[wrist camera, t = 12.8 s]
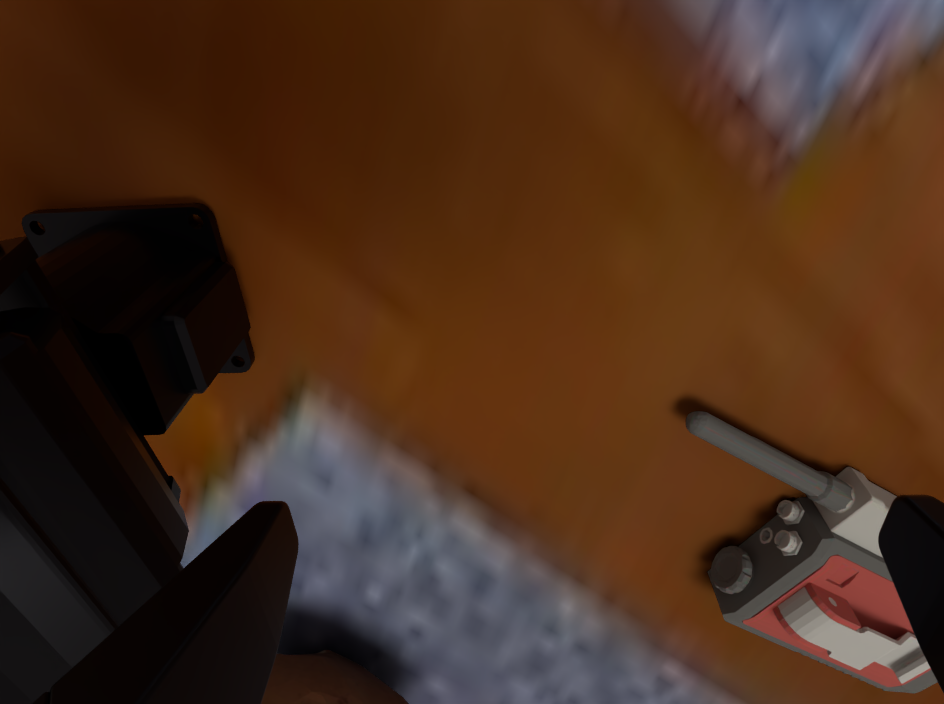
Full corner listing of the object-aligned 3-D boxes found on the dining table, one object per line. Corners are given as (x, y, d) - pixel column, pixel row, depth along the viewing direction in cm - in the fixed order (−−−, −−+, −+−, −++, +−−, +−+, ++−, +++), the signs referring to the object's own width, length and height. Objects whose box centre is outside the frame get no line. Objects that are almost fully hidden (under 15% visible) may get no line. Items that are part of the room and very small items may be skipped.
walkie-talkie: (1030, 561, 28) (698, 377, 24) (1111, 650, 24) (736, 452, 20) (877, 653, 32) (570, 512, 28) (927, 741, 29) (581, 595, 24)
